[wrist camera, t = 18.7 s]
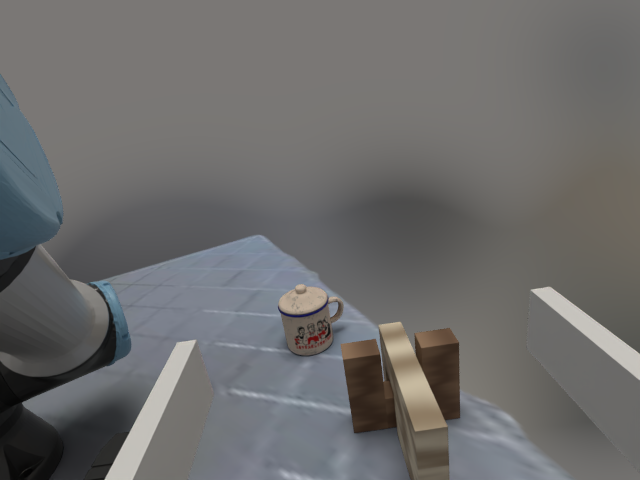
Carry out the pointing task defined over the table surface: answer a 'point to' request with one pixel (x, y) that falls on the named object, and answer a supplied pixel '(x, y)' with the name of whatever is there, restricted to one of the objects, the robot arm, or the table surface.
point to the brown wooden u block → (377, 396)
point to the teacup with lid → (308, 319)
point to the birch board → (414, 408)
